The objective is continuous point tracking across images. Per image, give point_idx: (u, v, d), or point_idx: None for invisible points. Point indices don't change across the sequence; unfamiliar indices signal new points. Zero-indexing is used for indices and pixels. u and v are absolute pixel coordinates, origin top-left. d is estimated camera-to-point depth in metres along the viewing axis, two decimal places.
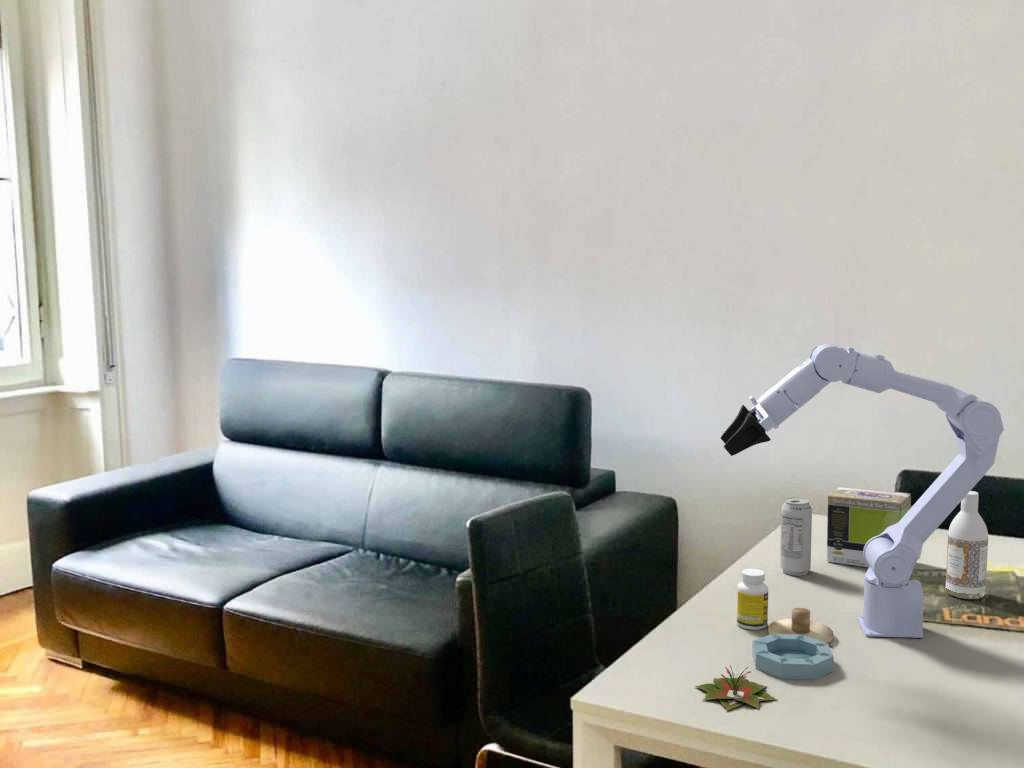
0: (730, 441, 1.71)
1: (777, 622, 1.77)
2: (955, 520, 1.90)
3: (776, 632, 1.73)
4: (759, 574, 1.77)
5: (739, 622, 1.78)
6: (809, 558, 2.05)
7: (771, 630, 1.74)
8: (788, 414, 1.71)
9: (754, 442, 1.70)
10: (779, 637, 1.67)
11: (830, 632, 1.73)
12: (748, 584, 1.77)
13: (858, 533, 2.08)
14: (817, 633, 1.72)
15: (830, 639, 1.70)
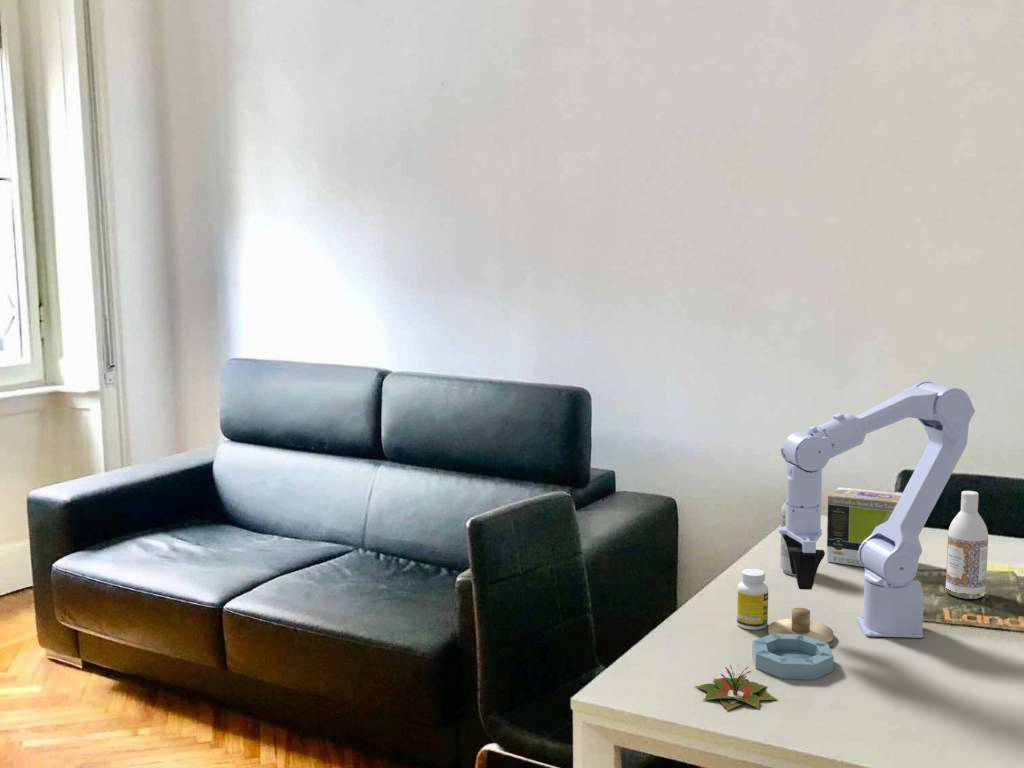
0: (799, 580, 1.68)
1: (777, 622, 1.77)
2: (955, 520, 1.90)
3: (776, 632, 1.73)
4: (759, 574, 1.77)
5: (739, 622, 1.78)
6: None
7: (771, 630, 1.74)
8: (817, 517, 1.69)
9: (815, 565, 1.67)
10: (779, 637, 1.67)
11: (830, 632, 1.73)
12: (748, 584, 1.77)
13: (858, 533, 2.08)
14: (817, 633, 1.72)
15: (830, 639, 1.70)
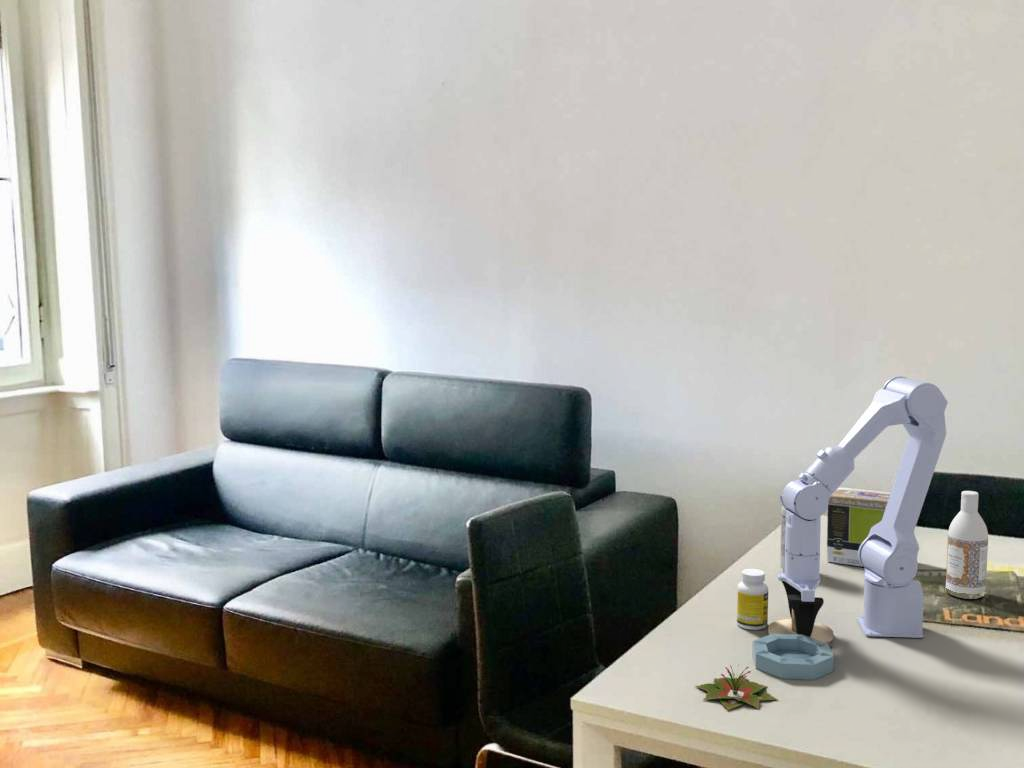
0: (798, 628, 1.69)
1: (777, 622, 1.77)
2: (955, 520, 1.90)
3: (776, 632, 1.73)
4: (759, 574, 1.77)
5: (739, 622, 1.78)
6: None
7: (771, 630, 1.74)
8: (816, 565, 1.70)
9: (814, 613, 1.68)
10: (779, 637, 1.67)
11: (830, 632, 1.73)
12: (748, 584, 1.77)
13: (858, 533, 2.08)
14: (817, 633, 1.72)
15: (830, 639, 1.70)
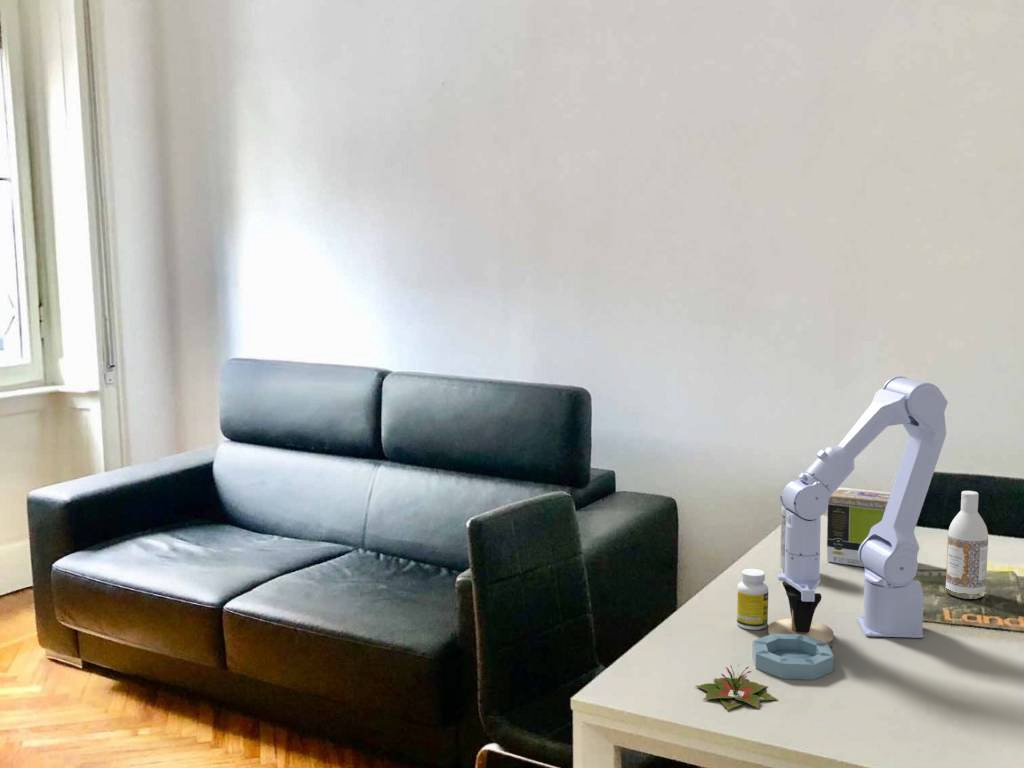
0: (796, 623, 1.71)
1: (777, 622, 1.77)
2: (955, 520, 1.90)
3: (776, 632, 1.73)
4: (759, 574, 1.77)
5: (739, 622, 1.78)
6: None
7: (771, 630, 1.74)
8: (816, 565, 1.70)
9: (812, 609, 1.70)
10: (779, 637, 1.67)
11: (830, 632, 1.73)
12: (748, 584, 1.77)
13: (858, 533, 2.08)
14: (817, 633, 1.72)
15: (830, 639, 1.70)
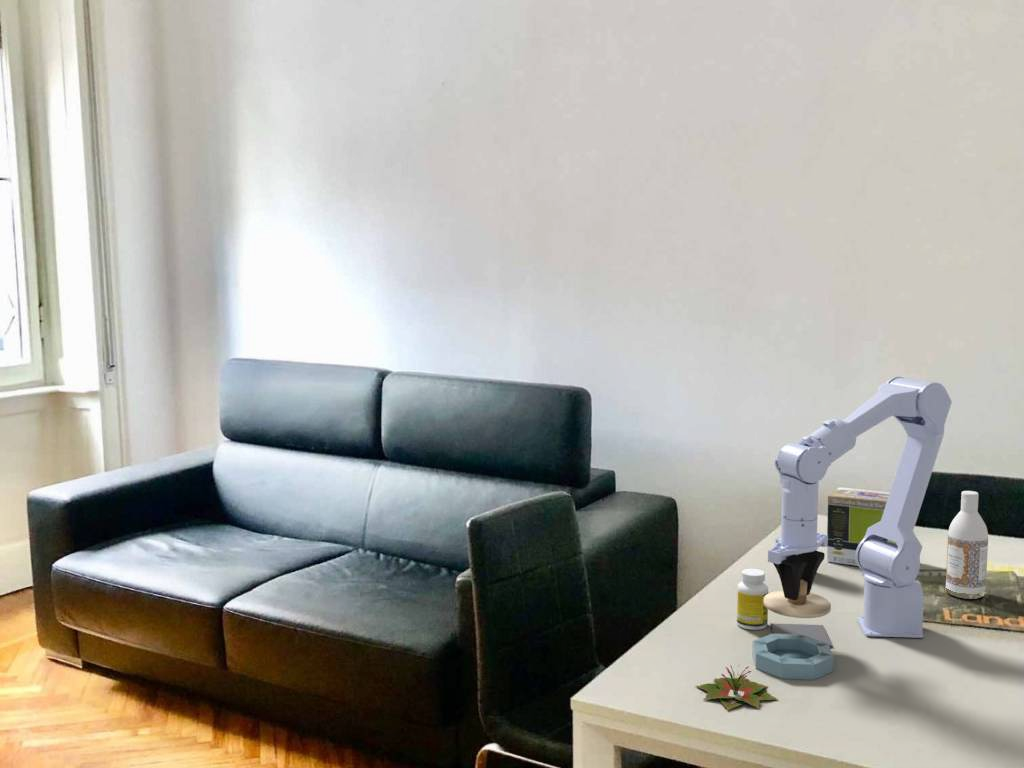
0: (783, 588, 1.67)
1: None
2: (955, 520, 1.90)
3: (770, 597, 1.70)
4: (759, 574, 1.77)
5: (739, 622, 1.78)
6: None
7: (768, 595, 1.71)
8: (803, 532, 1.64)
9: (794, 576, 1.64)
10: (779, 637, 1.67)
11: (822, 610, 1.64)
12: (748, 584, 1.77)
13: (858, 533, 2.08)
14: (808, 607, 1.66)
15: (813, 615, 1.63)
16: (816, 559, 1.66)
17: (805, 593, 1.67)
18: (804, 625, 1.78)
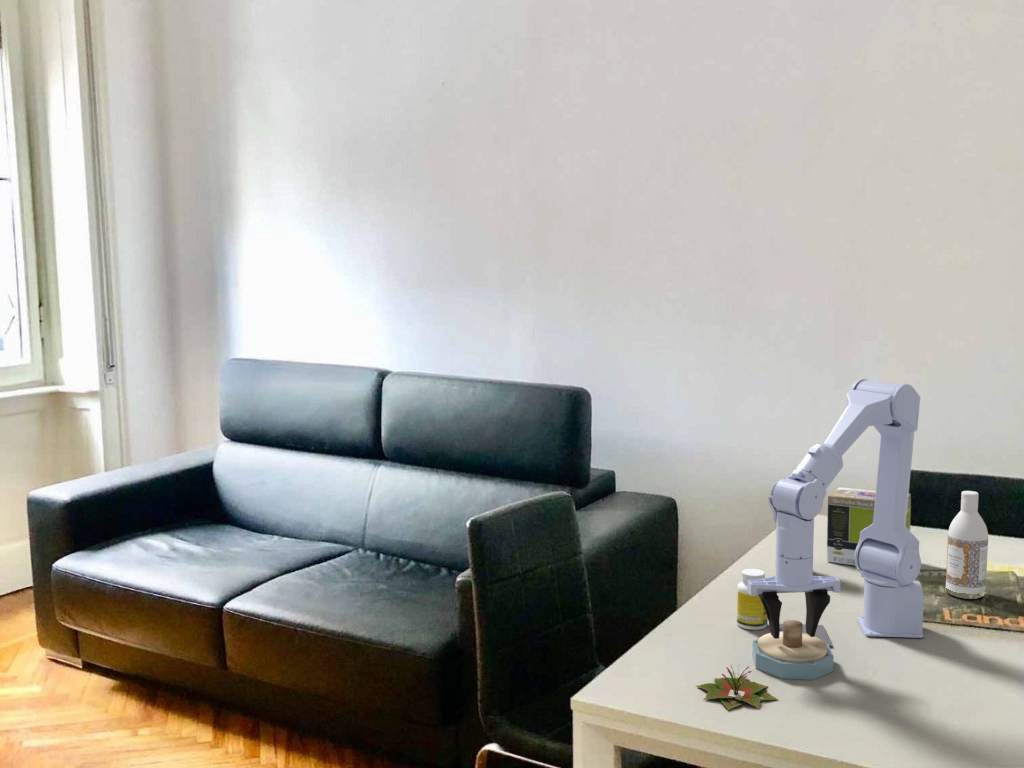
0: (769, 624, 1.63)
1: None
2: (955, 520, 1.90)
3: None
4: (759, 574, 1.77)
5: (739, 622, 1.78)
6: None
7: None
8: (787, 569, 1.59)
9: (769, 613, 1.60)
10: None
11: (802, 656, 1.58)
12: None
13: (858, 533, 2.08)
14: (793, 651, 1.60)
15: (787, 658, 1.58)
16: (816, 601, 1.59)
17: (796, 636, 1.61)
18: (804, 625, 1.78)
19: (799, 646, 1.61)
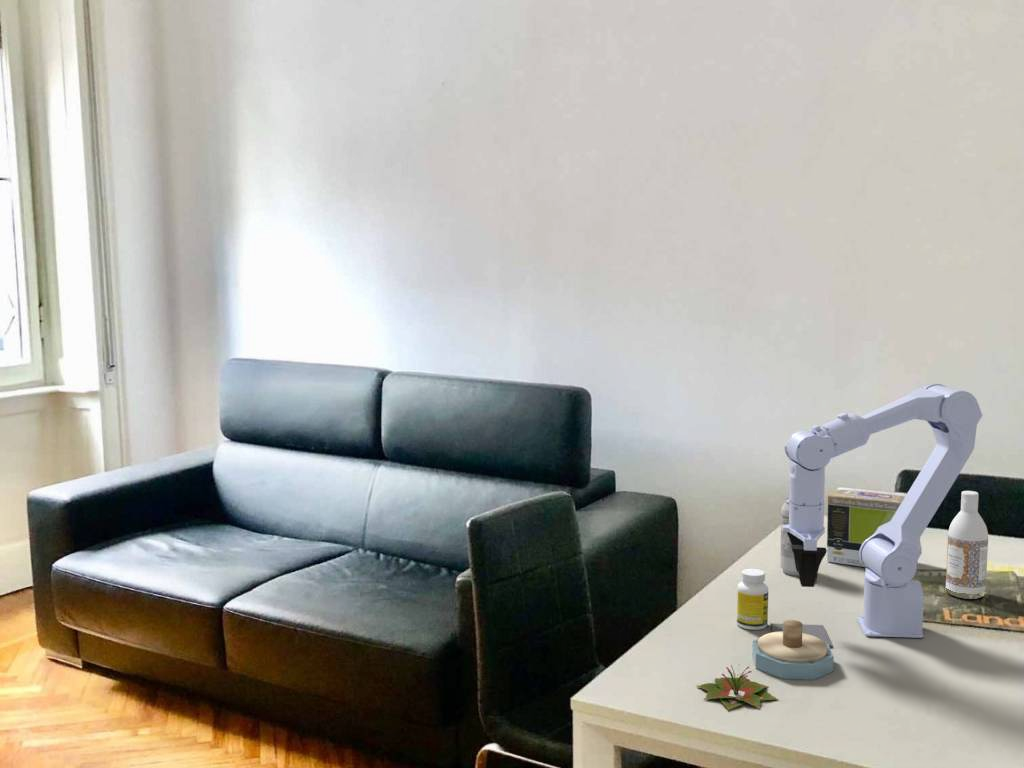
0: (801, 578, 1.70)
1: None
2: (955, 520, 1.90)
3: (773, 635, 1.67)
4: (759, 574, 1.77)
5: (739, 622, 1.78)
6: None
7: (775, 632, 1.67)
8: (820, 515, 1.70)
9: (817, 563, 1.68)
10: None
11: (802, 656, 1.58)
12: (748, 584, 1.77)
13: (858, 533, 2.08)
14: (793, 651, 1.60)
15: (787, 658, 1.58)
16: None
17: (796, 636, 1.61)
18: (804, 625, 1.78)
19: (799, 646, 1.61)
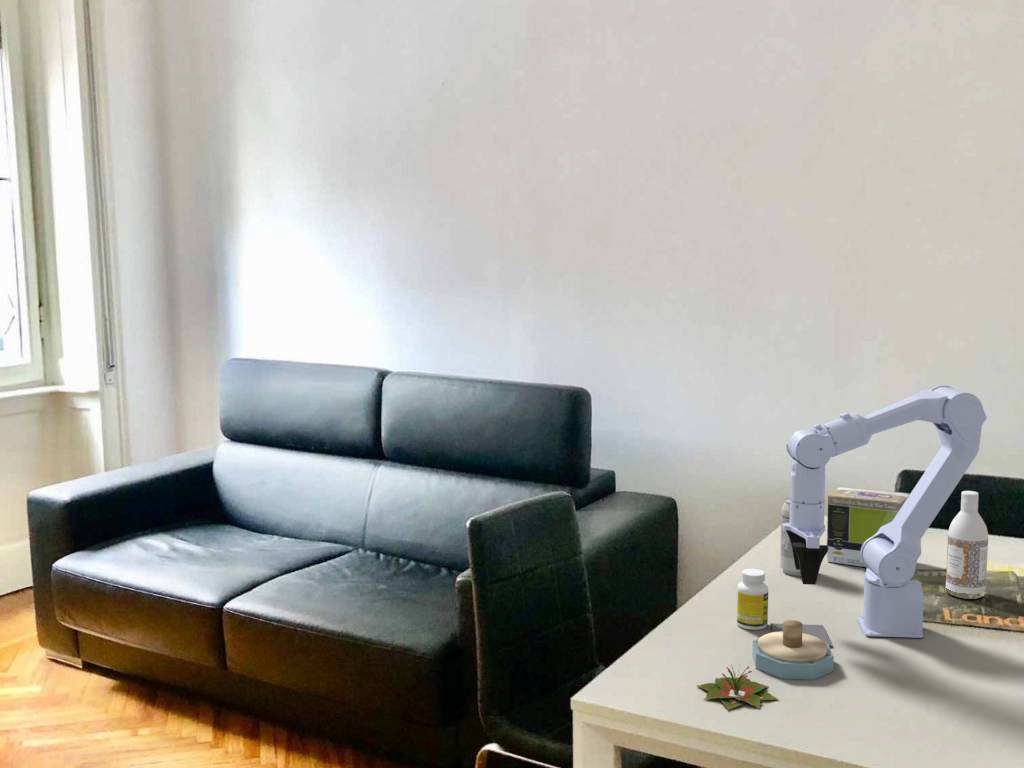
0: (802, 575, 1.71)
1: None
2: (955, 520, 1.90)
3: (773, 635, 1.67)
4: (759, 574, 1.77)
5: (739, 622, 1.78)
6: None
7: (775, 632, 1.67)
8: (821, 513, 1.71)
9: (819, 561, 1.69)
10: None
11: (802, 656, 1.58)
12: (748, 584, 1.77)
13: (858, 533, 2.08)
14: (793, 651, 1.60)
15: (787, 658, 1.58)
16: None
17: (796, 636, 1.61)
18: (804, 625, 1.78)
19: (799, 646, 1.61)
